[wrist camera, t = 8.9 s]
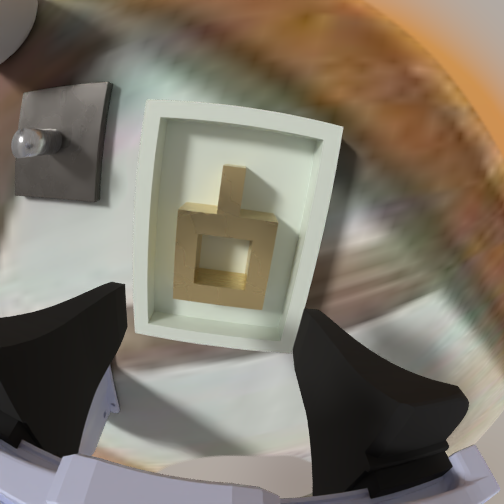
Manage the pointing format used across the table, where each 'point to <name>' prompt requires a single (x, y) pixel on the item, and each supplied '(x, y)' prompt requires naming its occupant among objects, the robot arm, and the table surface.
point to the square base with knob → (61, 142)
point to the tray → (254, 198)
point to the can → (15, 24)
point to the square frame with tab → (231, 226)
